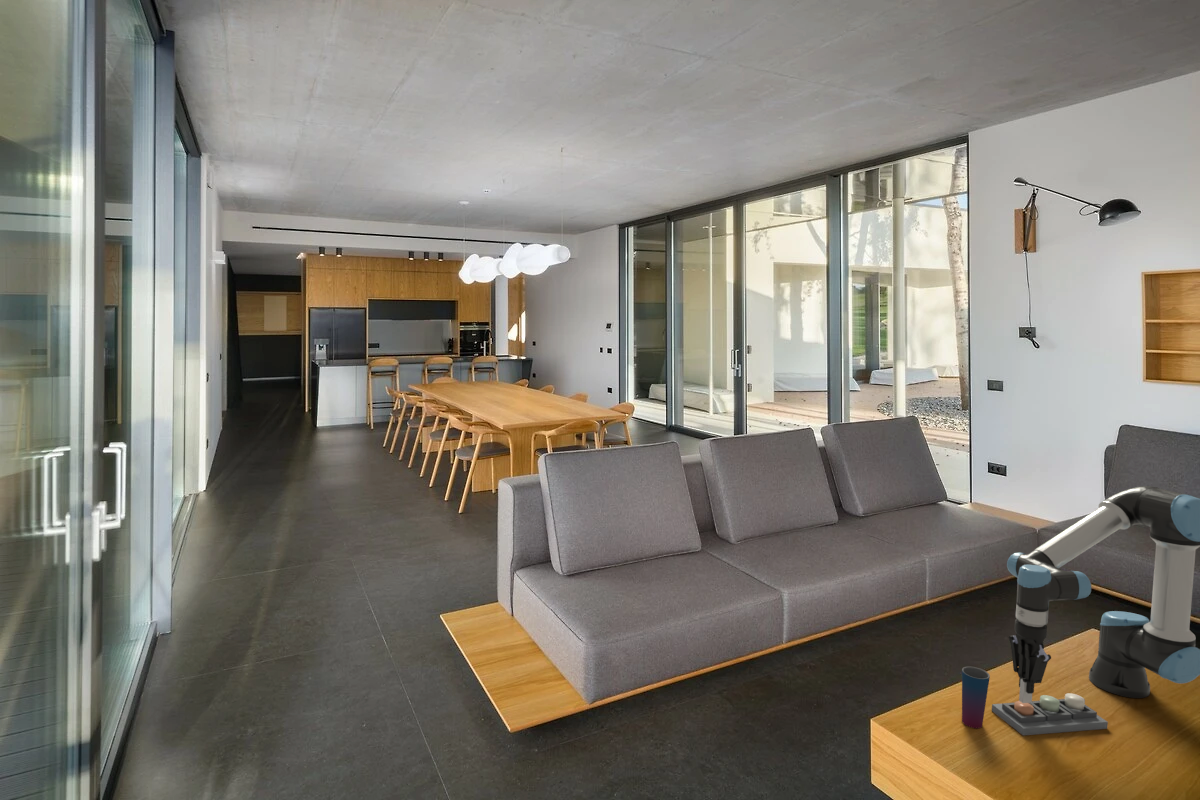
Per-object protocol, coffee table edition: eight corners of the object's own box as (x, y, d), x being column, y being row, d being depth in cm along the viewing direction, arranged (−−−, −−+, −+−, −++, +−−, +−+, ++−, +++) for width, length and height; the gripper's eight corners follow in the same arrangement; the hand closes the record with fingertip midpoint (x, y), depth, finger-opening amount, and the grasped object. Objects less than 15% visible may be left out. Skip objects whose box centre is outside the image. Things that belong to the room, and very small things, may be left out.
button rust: (1024, 708, 192) (1025, 700, 192) (1037, 717, 188) (1037, 709, 187) (1010, 709, 191) (1010, 701, 191) (1022, 718, 187) (1022, 710, 187)
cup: (989, 731, 185) (993, 680, 183) (962, 728, 186) (966, 677, 184) (980, 717, 191) (984, 667, 190) (955, 714, 193) (958, 665, 191)
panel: (1071, 704, 199) (1072, 693, 198) (1107, 728, 187) (1108, 716, 186) (991, 710, 195) (992, 699, 195) (1022, 735, 183) (1023, 723, 183)
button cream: (1074, 700, 194) (1075, 692, 194) (1088, 709, 190) (1089, 701, 189) (1060, 701, 194) (1061, 693, 193) (1073, 710, 189) (1074, 702, 189)
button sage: (1049, 702, 193) (1050, 694, 193) (1063, 711, 188) (1063, 703, 188) (1035, 703, 192) (1036, 695, 192) (1048, 712, 188) (1049, 704, 188)
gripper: (1001, 612, 193) (996, 690, 195) (1037, 632, 180) (1031, 715, 182) (1025, 610, 194) (1019, 688, 196) (1062, 631, 181) (1055, 713, 183)
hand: (1025, 701), depth 189 cm, fingers closed
